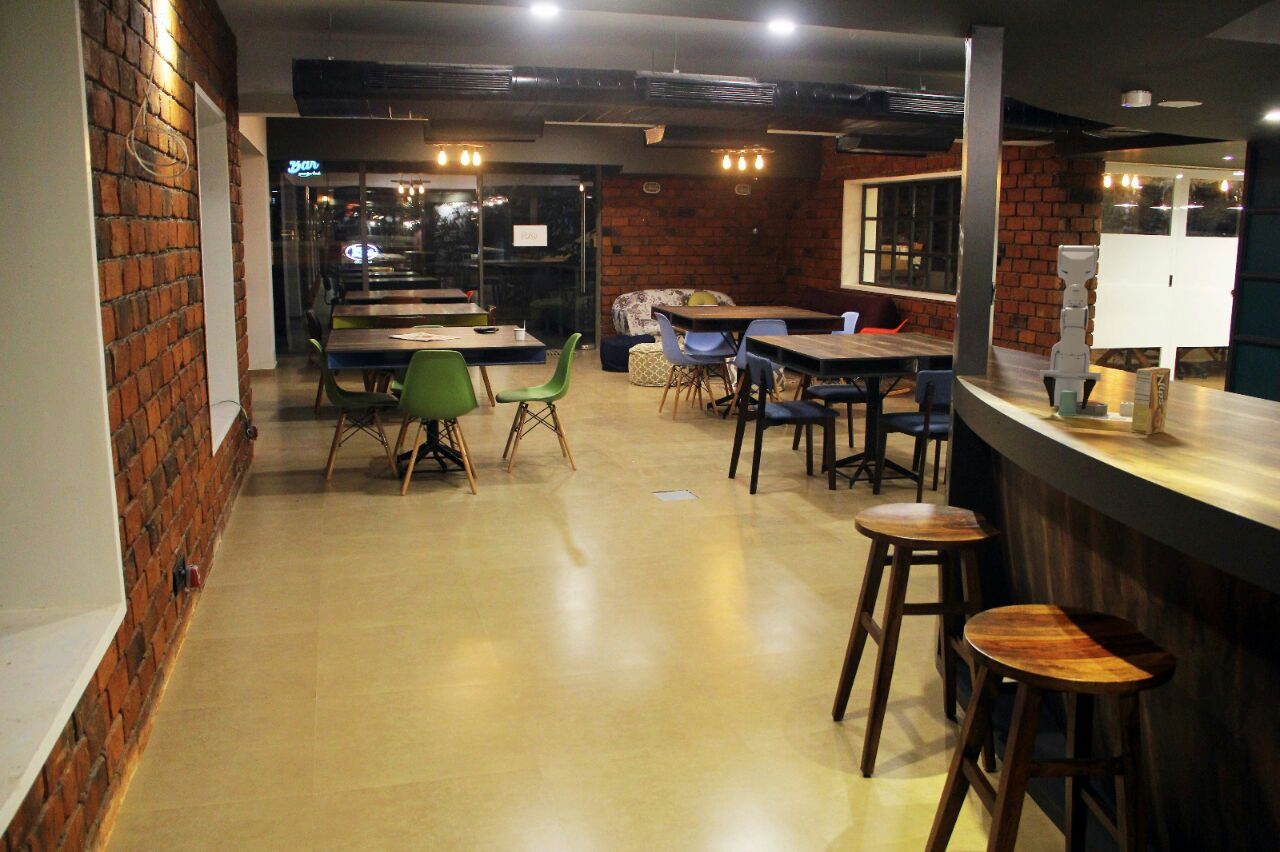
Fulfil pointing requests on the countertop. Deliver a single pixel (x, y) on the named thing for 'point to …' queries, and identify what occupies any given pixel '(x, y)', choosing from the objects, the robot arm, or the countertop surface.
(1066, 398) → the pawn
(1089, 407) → the game board
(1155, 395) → the candy box
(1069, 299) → the robot arm
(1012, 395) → the countertop surface
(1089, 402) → the dome button
